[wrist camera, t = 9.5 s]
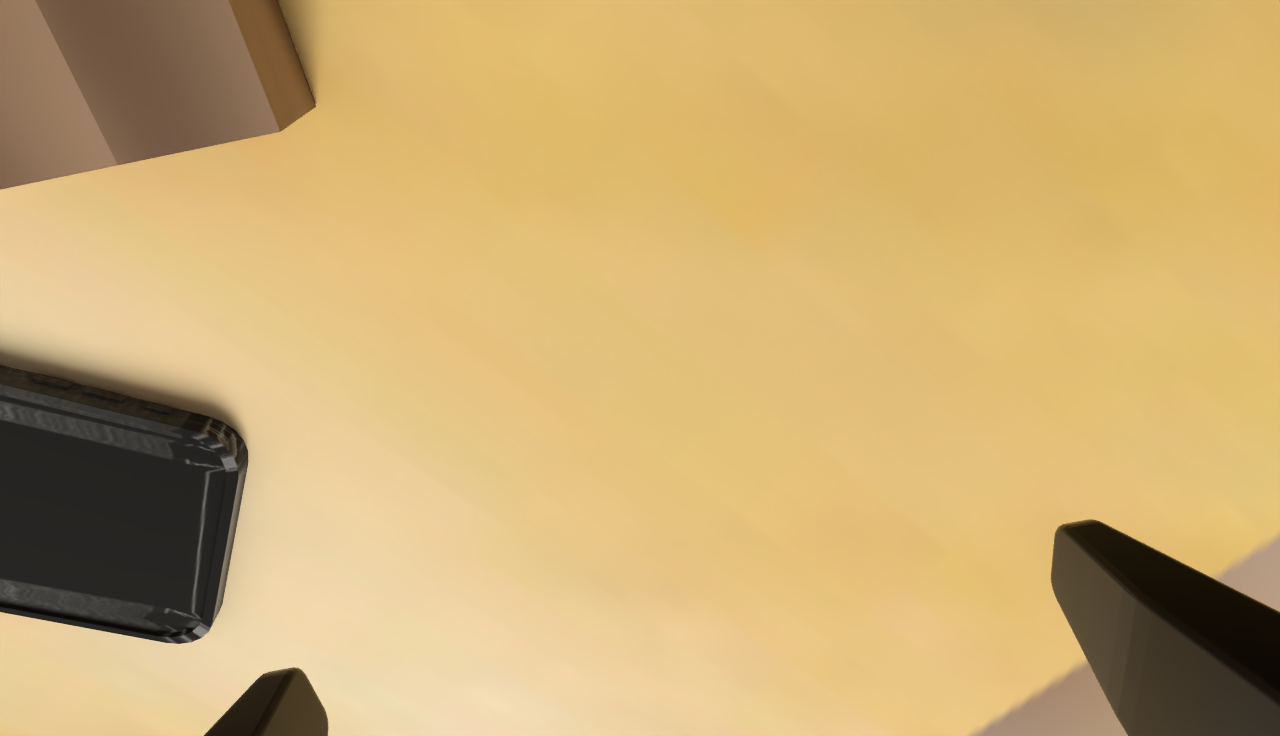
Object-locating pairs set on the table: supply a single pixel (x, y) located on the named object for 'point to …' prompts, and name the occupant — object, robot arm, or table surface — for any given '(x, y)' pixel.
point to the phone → (114, 509)
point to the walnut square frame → (139, 81)
